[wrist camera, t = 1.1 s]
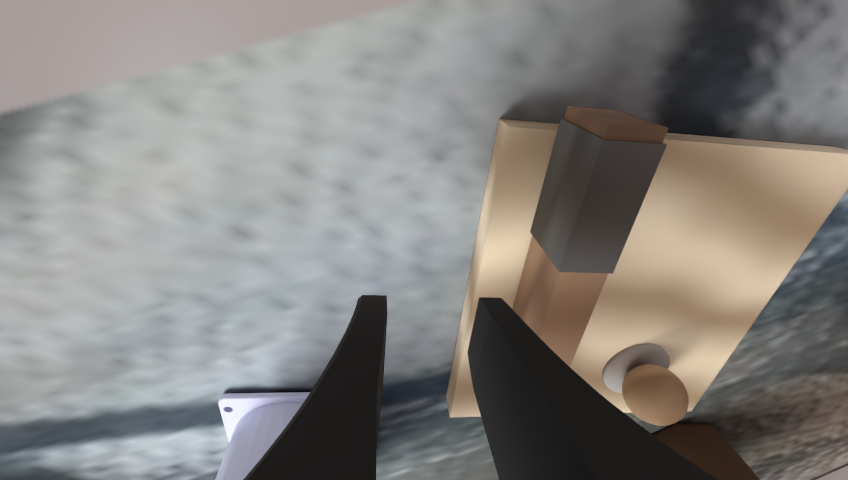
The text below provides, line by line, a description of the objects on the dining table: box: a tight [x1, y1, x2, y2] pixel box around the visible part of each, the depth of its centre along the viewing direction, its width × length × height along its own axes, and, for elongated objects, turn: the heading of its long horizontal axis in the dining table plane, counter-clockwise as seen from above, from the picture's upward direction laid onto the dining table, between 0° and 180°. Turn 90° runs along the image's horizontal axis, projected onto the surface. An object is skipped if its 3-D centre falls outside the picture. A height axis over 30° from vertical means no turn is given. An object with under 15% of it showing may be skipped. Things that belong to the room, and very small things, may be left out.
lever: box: [512, 106, 668, 367], centre depth 17 cm, size 18×3×3 cm, turn 174°
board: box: [446, 119, 848, 426], centre depth 19 cm, size 18×17×5 cm
